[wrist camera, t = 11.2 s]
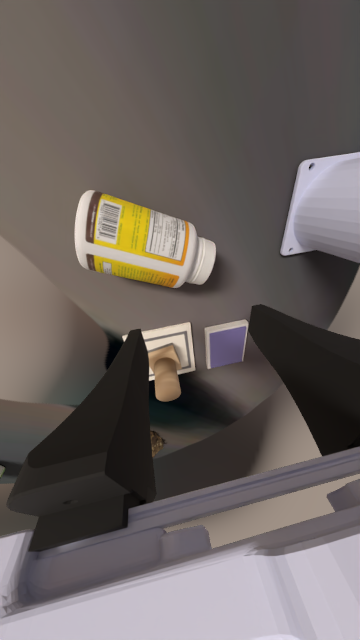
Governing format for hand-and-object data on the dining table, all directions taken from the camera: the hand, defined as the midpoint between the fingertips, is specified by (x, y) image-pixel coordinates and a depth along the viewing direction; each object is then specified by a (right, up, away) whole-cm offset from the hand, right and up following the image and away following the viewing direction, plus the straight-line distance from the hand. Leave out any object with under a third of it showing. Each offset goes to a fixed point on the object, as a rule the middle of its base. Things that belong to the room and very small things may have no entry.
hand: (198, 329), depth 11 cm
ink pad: (+6, -3, +16) cm, 17 cm away
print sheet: (-4, -5, +15) cm, 16 cm away
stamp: (-4, -5, +15) cm, 16 cm away
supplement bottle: (-9, +7, +2) cm, 11 cm away
